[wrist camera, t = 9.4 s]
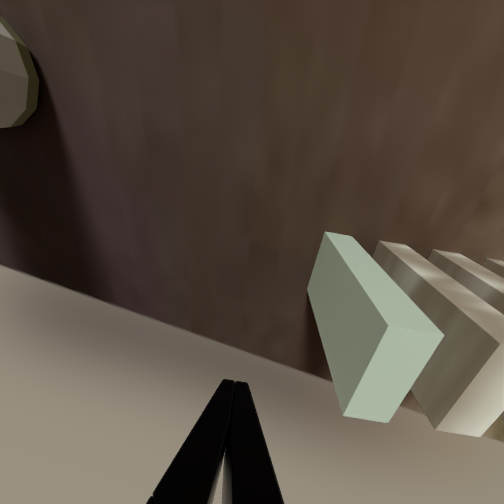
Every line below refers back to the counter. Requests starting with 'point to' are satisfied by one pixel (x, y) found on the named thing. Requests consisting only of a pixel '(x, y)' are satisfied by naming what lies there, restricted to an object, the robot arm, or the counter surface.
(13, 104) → the bottle
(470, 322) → the domino
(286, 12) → the counter surface
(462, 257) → the domino
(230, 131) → the counter surface
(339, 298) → the domino
